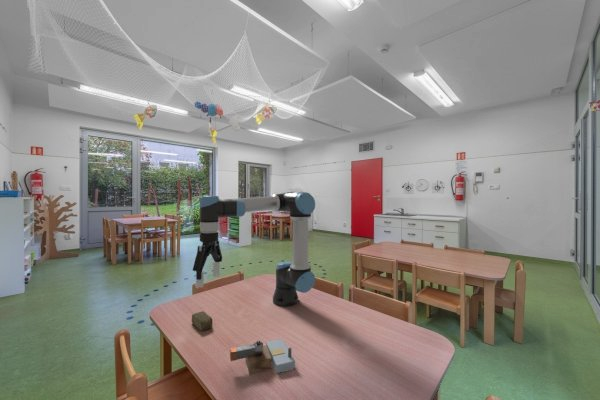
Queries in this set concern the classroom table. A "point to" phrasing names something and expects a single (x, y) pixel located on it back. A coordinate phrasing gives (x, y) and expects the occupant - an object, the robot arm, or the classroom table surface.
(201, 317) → the stone block
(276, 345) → the grey block with peg
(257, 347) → the latch bar
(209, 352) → the classroom table surface
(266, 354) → the block
